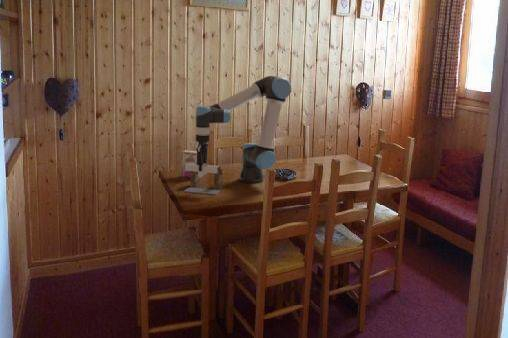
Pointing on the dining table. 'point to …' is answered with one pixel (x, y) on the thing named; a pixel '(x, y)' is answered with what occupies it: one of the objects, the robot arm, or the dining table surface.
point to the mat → (202, 191)
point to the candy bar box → (188, 161)
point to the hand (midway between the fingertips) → (201, 175)
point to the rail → (205, 168)
